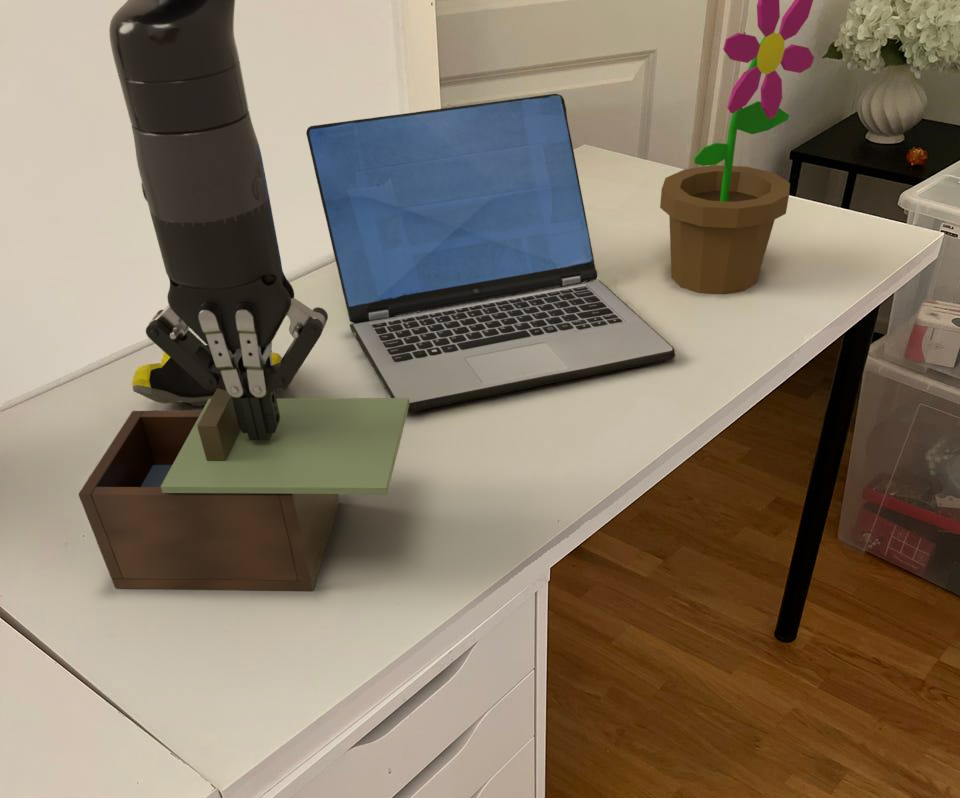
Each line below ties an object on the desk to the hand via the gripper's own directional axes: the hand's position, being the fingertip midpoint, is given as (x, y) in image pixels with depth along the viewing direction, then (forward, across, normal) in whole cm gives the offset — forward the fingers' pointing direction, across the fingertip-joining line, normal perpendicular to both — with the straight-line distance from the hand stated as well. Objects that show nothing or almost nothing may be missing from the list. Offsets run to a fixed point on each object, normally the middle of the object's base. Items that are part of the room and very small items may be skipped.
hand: (262, 434), depth 73 cm
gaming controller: (+10, +12, -25) cm, 29 cm away
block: (+9, +8, 0) cm, 12 cm away
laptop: (+10, -14, -40) cm, 44 cm away
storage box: (+10, +5, 0) cm, 11 cm away
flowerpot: (+10, -40, -53) cm, 67 cm away
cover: (+1, -2, 0) cm, 2 cm away
